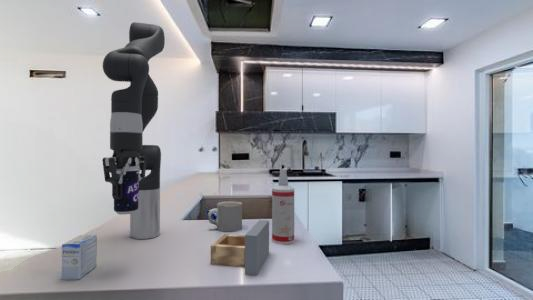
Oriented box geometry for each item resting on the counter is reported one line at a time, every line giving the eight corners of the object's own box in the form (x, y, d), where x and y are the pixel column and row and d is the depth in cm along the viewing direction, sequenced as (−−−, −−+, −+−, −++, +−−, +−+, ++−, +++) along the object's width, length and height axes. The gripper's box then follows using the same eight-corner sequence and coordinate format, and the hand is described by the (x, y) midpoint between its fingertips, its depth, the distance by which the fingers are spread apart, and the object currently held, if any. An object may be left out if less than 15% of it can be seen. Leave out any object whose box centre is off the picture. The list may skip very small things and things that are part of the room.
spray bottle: (282, 236, 104) (282, 167, 104) (298, 240, 99) (298, 168, 99) (267, 241, 98) (267, 168, 98) (283, 246, 93) (283, 169, 93)
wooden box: (210, 264, 78) (210, 245, 78) (224, 250, 88) (224, 234, 89) (249, 267, 76) (249, 248, 76) (259, 252, 86) (259, 236, 86)
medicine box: (79, 267, 76) (79, 234, 76) (97, 266, 77) (97, 234, 77) (61, 280, 68) (61, 244, 68) (80, 279, 69) (80, 243, 69)
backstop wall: (245, 275, 71) (245, 235, 71) (259, 252, 87) (259, 220, 87) (256, 276, 71) (256, 235, 71) (269, 253, 86) (269, 220, 86)
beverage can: (128, 215, 70) (128, 166, 70) (108, 214, 71) (108, 166, 71) (143, 210, 76) (143, 165, 76) (124, 209, 77) (124, 165, 77)
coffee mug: (241, 225, 120) (241, 201, 120) (242, 231, 110) (242, 205, 110) (209, 226, 118) (209, 201, 118) (207, 232, 108) (207, 206, 108)
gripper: (119, 129, 66) (119, 202, 66) (155, 133, 80) (155, 193, 80) (91, 129, 67) (91, 201, 67) (132, 133, 81) (132, 192, 81)
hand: (126, 196), depth 73 cm, fingers closed on beverage can, 5 cm apart
